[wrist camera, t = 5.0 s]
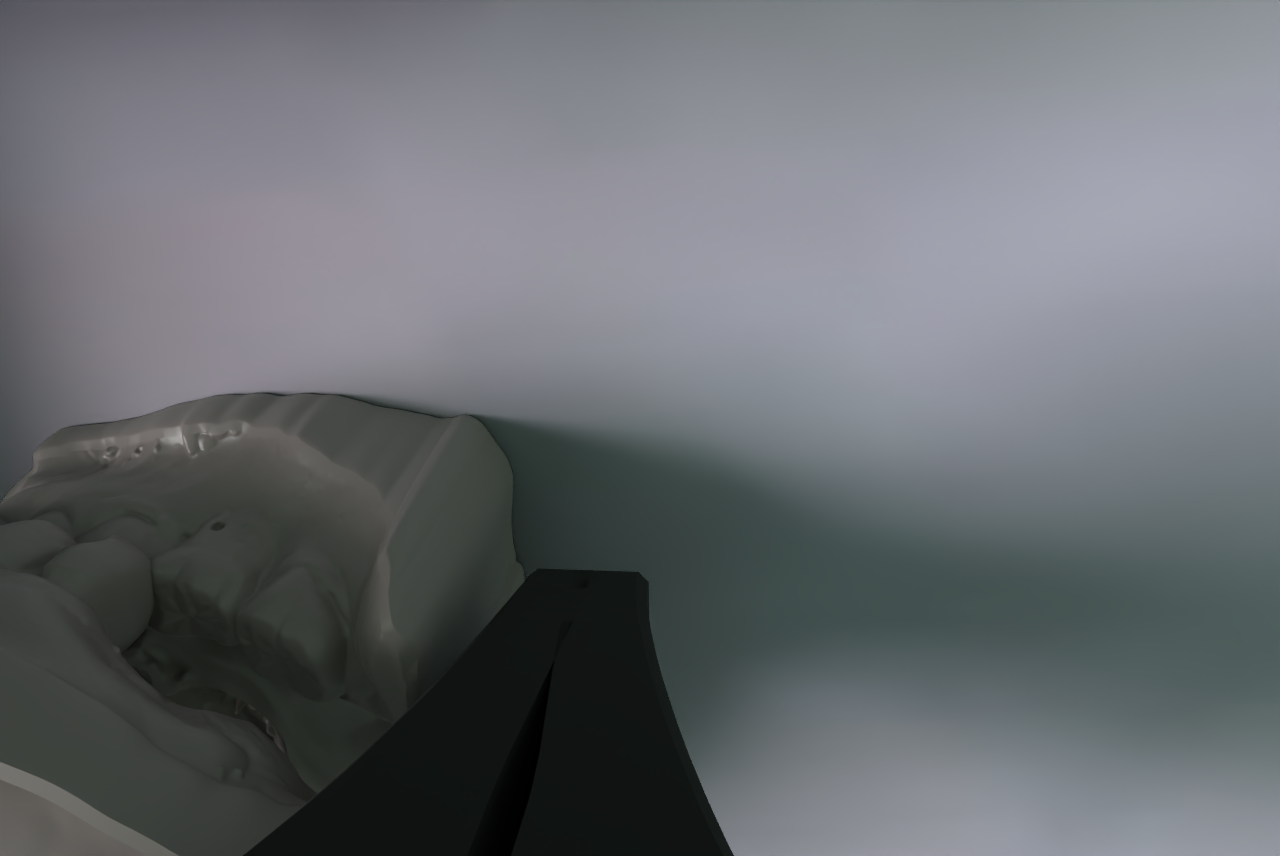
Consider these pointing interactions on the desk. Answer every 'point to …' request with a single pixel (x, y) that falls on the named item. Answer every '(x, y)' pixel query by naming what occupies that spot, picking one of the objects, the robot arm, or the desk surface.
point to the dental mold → (231, 612)
